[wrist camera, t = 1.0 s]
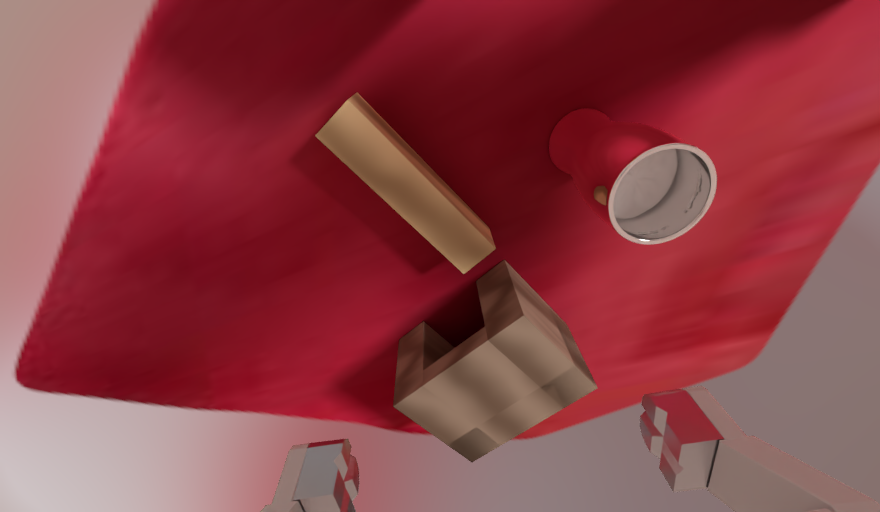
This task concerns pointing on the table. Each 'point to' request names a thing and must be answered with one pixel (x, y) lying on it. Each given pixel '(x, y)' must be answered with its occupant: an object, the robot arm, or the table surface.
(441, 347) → the end cap
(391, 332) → the table surface
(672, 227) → the beer glass
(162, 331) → the table surface
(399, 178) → the slat
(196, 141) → the table surface
